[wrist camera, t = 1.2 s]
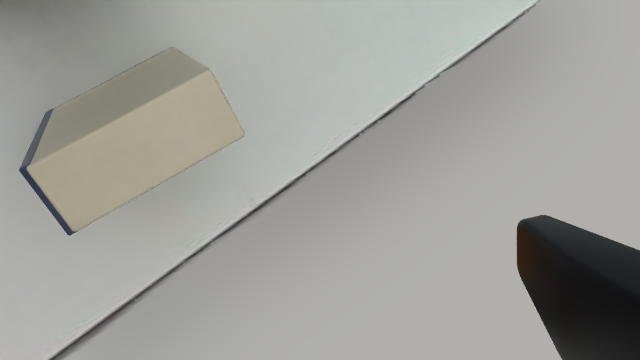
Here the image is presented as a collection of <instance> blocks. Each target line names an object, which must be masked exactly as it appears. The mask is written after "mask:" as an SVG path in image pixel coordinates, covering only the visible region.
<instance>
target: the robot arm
mask: <svg viewBox="0 0 640 360" xmlns="http://www.w3.org/2000/svg"><path fill="white" fill-rule="evenodd" d="M517 267H518V271H519V274H520V277H521V279H522V281H523V283H524V285H525V287H526V289H527V291H528V293H529V295H530V297H531V299H532V301H533V303H534V305H535V307H536V309H537V311H538V313H539V315H540V317H541V319H542V321H543V323H544V325H545V327H546V329H547V331H548V333H549V335H550V337H551V339H552V341H553V343H554V345H555V347H556V349H557V351H558V353H559V355H560V356H561V358H562V360H640V250H636V249H634V248H631V247H629V246H626V245H624V244H621V243H618V242H615V241H613V240H610V239H608V238H605V237H603V236H600V235H597V234H595V233H592V232H589V231H586V230H584V229H581V228H579V227H576V226H573V225H571V224H568V223H565V222H563V221H560V220H558V219H555V218H552V217H550V216H546V215H540V216H536V217H532V218H527V219H523V220H521V221H520V222H519V223H518V226H517Z"/></svg>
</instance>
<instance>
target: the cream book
mask: <svg viewBox="0 0 640 360" xmlns="http://www.w3.org/2000/svg"><path fill="white" fill-rule="evenodd" d="M244 135H245V132H244V130H243V129H242V127H241V125H240V123H239V121H238V119H237V117H236V116H235V114H234V112H233V110H232V108H231V106H230V104H229V103H228V101H227V99H226V97H225V95H224V93H223V92H222V90H221V88H220V86H219V84H218V82H217V80H216V79H215V77H214V75H213V73H212V71H211V70H209V69H208V68H206V67H205V66H203V65H201V64H200V63H198V62H196V61H195V60H193V59H191V58H190V57H188V56H186V55H185V54H183V53H181V52H180V51H178V50H177V49H175V48H173V47H171V48H169V49H167V50H165V51H163V52H161V53H159V54H157V55H156V56H154V57H152V58H150V59H148V60H146V61H144V62H142V63H140V64H138V65H136V66H135V67H133V68H131V69H129V70H127V71H125V72H123V73H121V74H119V75H117V76H115V77H113V78H112V79H110V80H108V81H106V82H104V83H102V84H100V85H98V86H96V87H94V88H92V89H91V90H89V91H87V92H85V93H83V94H81V95H79V96H77V97H75V98H73V99H71V100H70V101H68V102H66V103H64V104H62V105H60V106H58V107H56V108H54V109H51V110H50V111H48V112H46V114H45V116H44V118H43V120H42V122H41V124H40V126H39V128H38V131H37V133H36V135H35V137H34V139H33V141H32V143H31V145H30V148H29V150H28V152H27V154H26V156H25V158H24V160H23V162H22V165H21V167H20V169H19V171H20V172H21V174H22V175H23V176H24V178H25V179H26V180H27V182H28V183H29V184H30V185H31V187H32V188H33V189H34V191H35V192H36V193H37V195H38V196H39V197H40V199H41V200H42V201H43V203H44V204H45V205H46V207H47V208H48V209H49V210H50V212H51V213H52V214H53V216H54V217H55V218H56V220H57V221H58V222H59V224H60V225H61V226H62V228H63V229H64V230H65V232H66V233H67V234H68V235H72V234H73V233H75V232H77V231H79V230H80V229H82V228H84V227H85V226H87V225H89V224H91V223H92V222H94V221H96V220H98V219H99V218H101V217H103V216H105V215H107V214H108V213H110V212H112V211H114V210H115V209H117V208H119V207H121V206H122V205H124V204H126V203H128V202H129V201H131V200H133V199H135V198H136V197H138V196H140V195H142V194H143V193H145V192H147V191H149V190H151V189H152V188H154V187H156V186H158V185H159V184H161V183H163V182H165V181H166V180H168V179H170V178H172V177H173V176H175V175H177V174H179V173H180V172H182V171H184V170H186V169H188V168H189V167H191V166H193V165H195V164H196V163H198V162H200V161H202V160H203V159H205V158H207V157H209V156H210V155H212V154H214V153H216V152H217V151H219V150H221V149H223V148H224V147H226V146H228V145H230V144H232V143H233V142H235V141H237V140H239V139H240V138H242V137H244Z"/></svg>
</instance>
